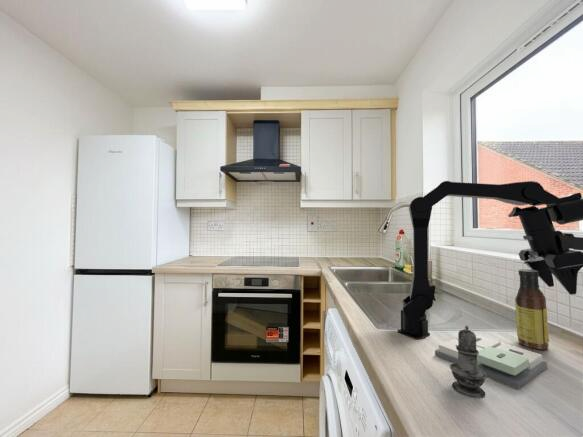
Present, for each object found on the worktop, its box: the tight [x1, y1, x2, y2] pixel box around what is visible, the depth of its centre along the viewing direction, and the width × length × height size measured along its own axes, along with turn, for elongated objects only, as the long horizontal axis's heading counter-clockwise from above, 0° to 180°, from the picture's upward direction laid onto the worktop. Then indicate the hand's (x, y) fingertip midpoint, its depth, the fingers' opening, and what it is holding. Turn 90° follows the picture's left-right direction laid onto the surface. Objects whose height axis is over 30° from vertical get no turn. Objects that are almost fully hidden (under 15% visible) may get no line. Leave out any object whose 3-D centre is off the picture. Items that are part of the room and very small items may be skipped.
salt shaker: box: [449, 325, 488, 399], centre depth 51 cm, size 6×6×12 cm
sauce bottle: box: [514, 268, 550, 351], centre depth 71 cm, size 7×6×20 cm
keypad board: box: [434, 334, 548, 390], centre depth 62 cm, size 16×16×3 cm
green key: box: [477, 346, 529, 377], centre depth 56 cm, size 7×7×3 cm
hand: (561, 290), depth 66 cm, fingers open, 9 cm apart
